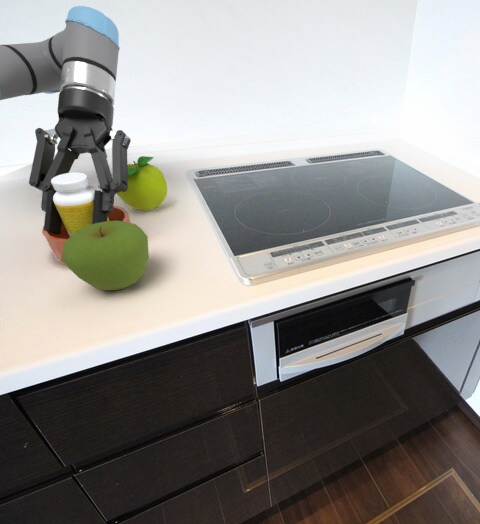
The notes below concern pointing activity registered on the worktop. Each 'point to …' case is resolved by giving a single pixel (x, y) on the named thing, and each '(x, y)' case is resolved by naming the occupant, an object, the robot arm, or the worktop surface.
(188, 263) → the worktop surface
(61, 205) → the pill bottle
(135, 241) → the apple
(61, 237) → the bowl
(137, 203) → the fruit
